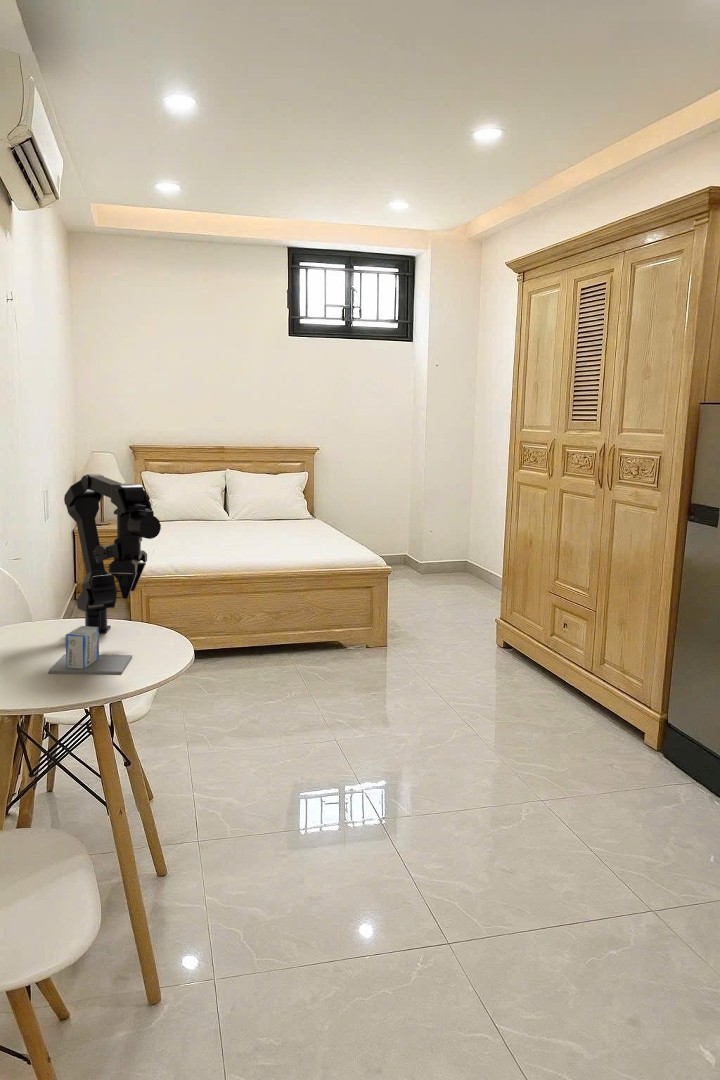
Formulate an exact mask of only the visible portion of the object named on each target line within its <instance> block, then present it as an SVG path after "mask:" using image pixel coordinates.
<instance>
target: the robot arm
mask: <svg viewBox="0 0 720 1080" xmlns="http://www.w3.org/2000/svg"><path fill="white" fill-rule="evenodd" d="M104 497H107V498H109V499H110V503H111V504H113V505H114V506H116V509H114V511H113V515H115V516H116V519H117V520H116V532H117V533H116V538H115V539H114V540H113V543H110V544H108V545H104V544H101V543H100V539H99V533H98V527H97V522H96V517H97V514H98V513H99V510H100V505H99V504H100V502H101V500H102V499H103V498H104ZM63 502H64V505H65V506H66V510H67V514H68V515H69V516H70V518H72V520H73V521H74V522H76V526H77V531H78V537H79V542H80V547H81V553H82V559H83V565H84V568H85V569H84V570H85V576H84V579H83V580H82V581H83V582H82V584H81V588H82V592H80V595H79V596H78V597H77V600H76V607H77V609H78V610H80V611H82V612H84V626H89V627H99V634H107V632H108V631H109V630H110V629H111V625H108V609H113V608H115V606H116V602H117V598H118V597H117V596H118V589H117V586H116V582H115V581H116V580H117V582H118V586H119V589H120V593H121V596H122V599H123V600H124V599H126V600H127V599H128V598H129V595H130V593H131V592H135V590H136V589H137V588H136V587H137V586H138V584H139V581H140V579H141V576H142V573H143V571H144V569H145V566H146V565H147V561H148V553H147V552H146V551H145V550H142V548H141V547H142V543H141V542H142V541H143V539H148V540H153V539H154V538H156V537H158V535H159V534H160V532H161V529H162V524H161V523H160V519H159V518H158V517H156V516H155V515H154V514H155V511H153V509H152V506H153V505H152V503H151V501H150V499H149V497H148V495H147V492H146V490H145V489H144V486H143V485H142V484H141V483H122V482H118V481H117V480H113V479H110V478H108V477H105V476H104V475H102V474H100V473H99V474H97V473H94V474H91V473H90V474H86V475H83V476H82V477H81V479H80V480H79V481H77V482H75V483H74V484H72V485H70V486H69V488H68V489H67V491H66V492H65V494H64V498H63ZM109 559H113V560H112V562H110V563H108V572H107V570H106V568H105V564H104V561H105V560H109ZM109 573H110V574H109ZM115 578H116V580H115Z"/></svg>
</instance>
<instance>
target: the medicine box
mask: <svg viewBox="0 0 720 1080" xmlns="http://www.w3.org/2000/svg"><path fill="white" fill-rule="evenodd" d="M99 635H100V633H99V627H89V626H85V625H81V626H79V627H78V628H75V629H73V630H71V631H70V632H68V633H66V634H65V654H66V668H74V669H84V668H86V667H87V666H89V665H90V664H92V663H93V662H95V661H96V660H98V659H99V655H100V639H99V638H100V636H99Z"/></svg>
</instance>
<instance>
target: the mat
mask: <svg viewBox="0 0 720 1080" xmlns="http://www.w3.org/2000/svg"><path fill="white" fill-rule="evenodd" d="M132 659H133V655H132V654H99V659H98V660H96V661H95V662H93V663H92V664H90V665H89V666H87V667H86V668H84V669H74V668H66V653H64V654H62V656H61V657H59V659H58V660H57V661H56V662H55V663H54V664H53V665H52V666H51V667H50V668H49V670H48V671H47V672H48V673H47V674H68V675H69V674H72V675H74V674H75V675H78V674H79V675H81V674H83V675H84V674H85V675H122V674H123V673H124V672H125V670H126V668H127V666H128V664H130V662H131V661H132Z"/></svg>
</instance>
